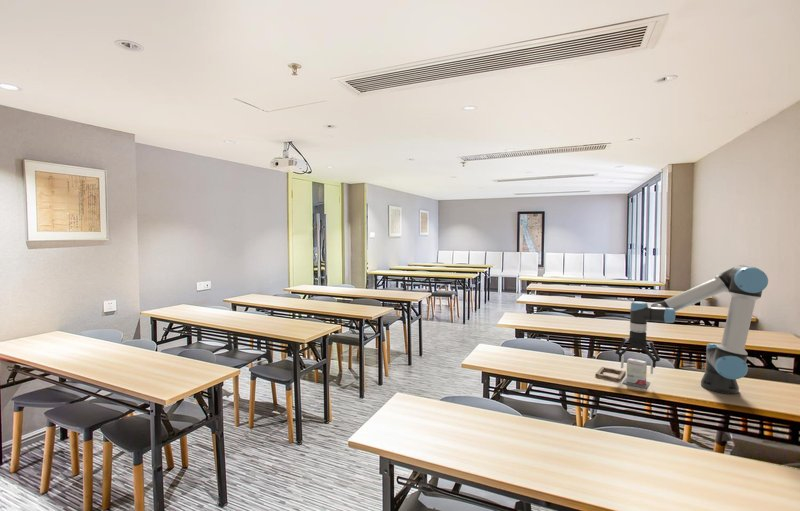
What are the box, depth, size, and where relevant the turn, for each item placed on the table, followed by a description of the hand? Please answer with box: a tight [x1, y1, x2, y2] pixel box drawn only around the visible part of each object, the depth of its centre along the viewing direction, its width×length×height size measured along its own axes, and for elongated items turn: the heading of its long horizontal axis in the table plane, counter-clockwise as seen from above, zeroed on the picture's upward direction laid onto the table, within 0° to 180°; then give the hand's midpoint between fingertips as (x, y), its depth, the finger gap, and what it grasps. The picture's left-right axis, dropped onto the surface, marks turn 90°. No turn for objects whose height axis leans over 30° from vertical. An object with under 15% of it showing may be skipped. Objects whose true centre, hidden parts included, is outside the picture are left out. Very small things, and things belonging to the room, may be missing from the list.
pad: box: [622, 376, 651, 390], centre depth 204 cm, size 11×11×1 cm
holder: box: [595, 366, 627, 383], centre depth 215 cm, size 12×16×2 cm
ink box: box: [626, 357, 648, 385], centre depth 204 cm, size 9×5×12 cm, turn 48°
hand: (636, 370), depth 204 cm, fingers open, 13 cm apart
